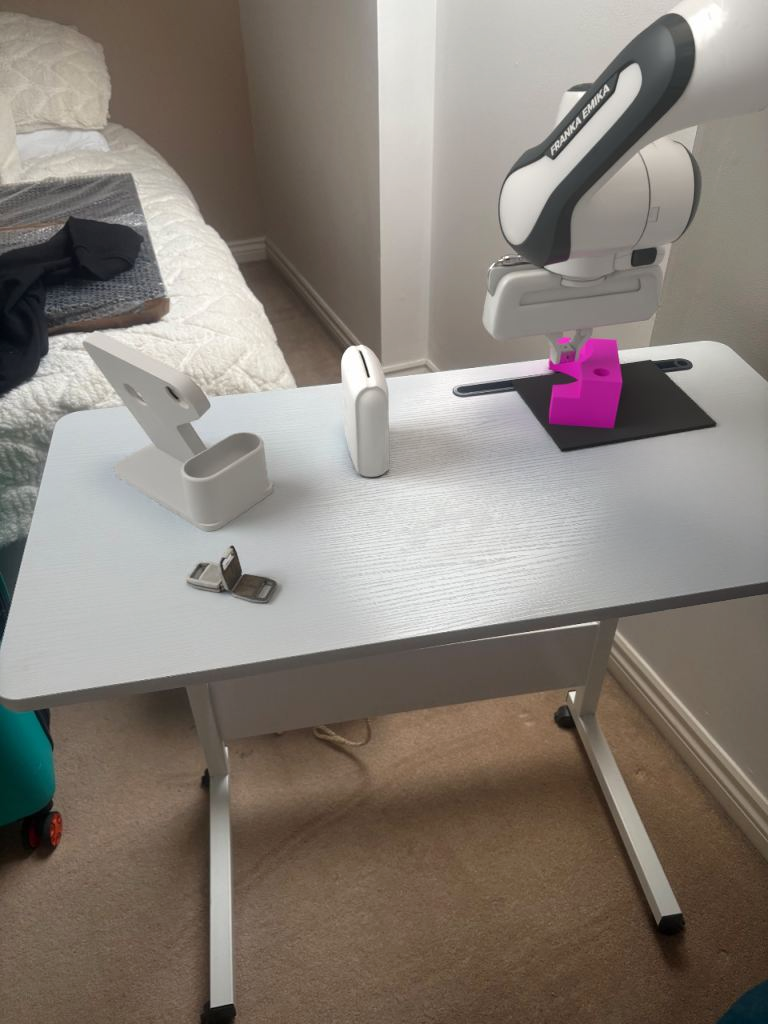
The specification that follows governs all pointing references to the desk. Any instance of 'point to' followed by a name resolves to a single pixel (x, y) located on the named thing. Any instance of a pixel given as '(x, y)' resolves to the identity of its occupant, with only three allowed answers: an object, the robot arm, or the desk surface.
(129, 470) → the phone holder
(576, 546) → the desk surface
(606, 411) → the toy block
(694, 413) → the mat
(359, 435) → the photo printer
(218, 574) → the strap clip
